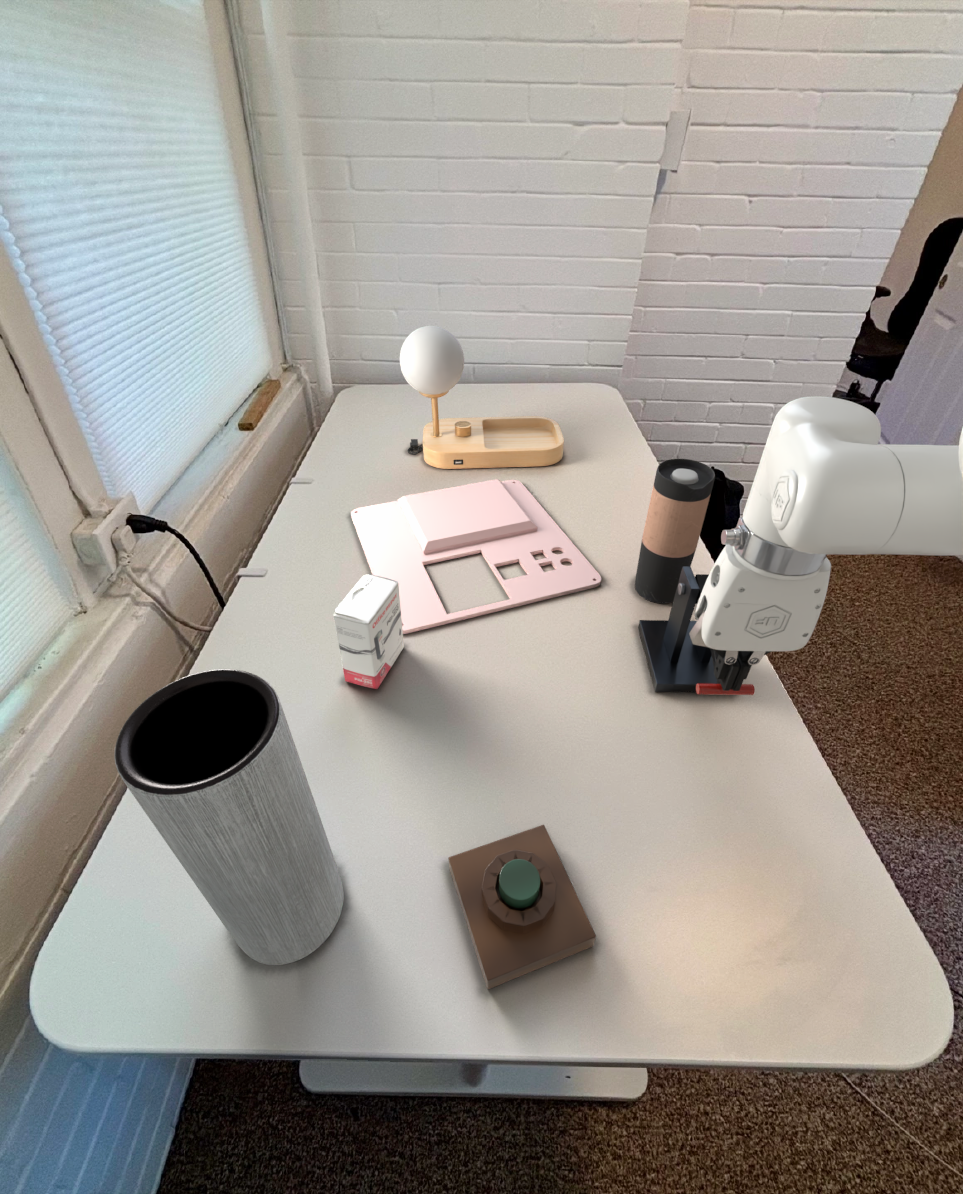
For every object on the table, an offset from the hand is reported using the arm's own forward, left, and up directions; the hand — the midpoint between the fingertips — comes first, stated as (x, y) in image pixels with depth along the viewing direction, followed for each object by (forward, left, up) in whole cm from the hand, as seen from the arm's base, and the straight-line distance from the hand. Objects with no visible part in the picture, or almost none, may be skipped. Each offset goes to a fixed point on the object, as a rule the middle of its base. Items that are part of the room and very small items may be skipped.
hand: (726, 680), depth 64 cm
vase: (-4, +49, -9) cm, 50 cm away
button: (-11, +29, -5) cm, 31 cm away
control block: (-11, +29, -9) cm, 32 cm away
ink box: (+24, +35, -9) cm, 43 cm away
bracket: (+11, -4, -9) cm, 15 cm away
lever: (+6, -2, 0) cm, 7 cm away
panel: (+46, +15, -9) cm, 49 cm away
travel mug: (+25, -9, -9) cm, 28 cm away
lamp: (+79, 0, -9) cm, 80 cm away
